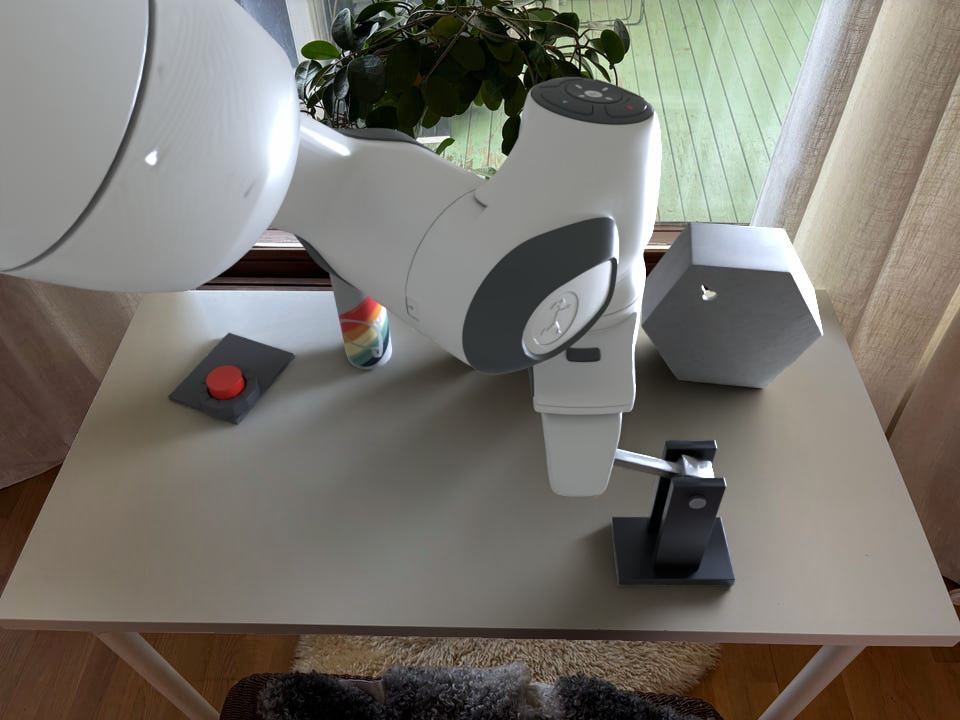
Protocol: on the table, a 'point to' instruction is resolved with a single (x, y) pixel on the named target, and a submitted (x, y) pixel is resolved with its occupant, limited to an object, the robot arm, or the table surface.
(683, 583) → the bracket
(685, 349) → the grey hexagonal block
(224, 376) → the button
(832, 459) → the table surface
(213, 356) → the button box
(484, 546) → the table surface
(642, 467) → the lever
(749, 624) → the table surface
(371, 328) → the lotion bottle
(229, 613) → the table surface
